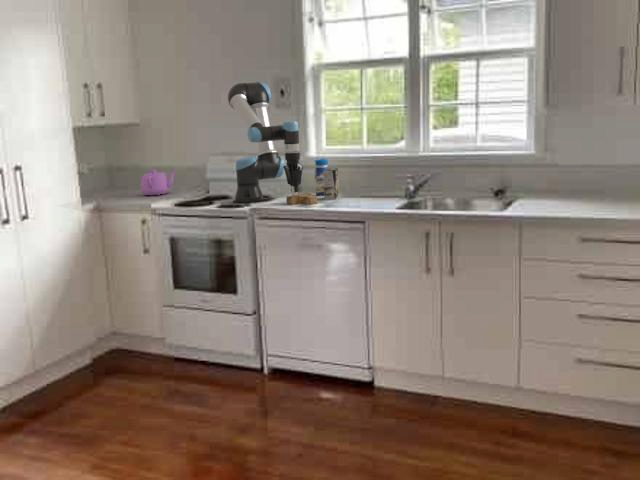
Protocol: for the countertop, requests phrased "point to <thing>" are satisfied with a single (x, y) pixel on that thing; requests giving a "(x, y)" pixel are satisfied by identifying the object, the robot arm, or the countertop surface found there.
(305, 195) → the walnut t block
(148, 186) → the teapot
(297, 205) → the slate board
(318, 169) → the beverage bottle
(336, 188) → the coffee box
